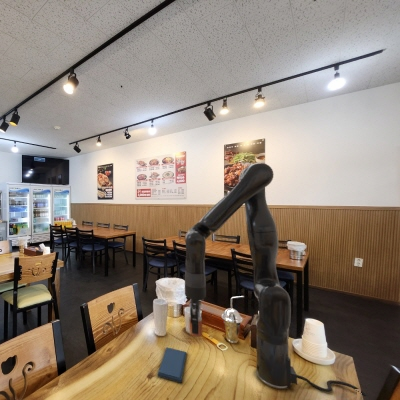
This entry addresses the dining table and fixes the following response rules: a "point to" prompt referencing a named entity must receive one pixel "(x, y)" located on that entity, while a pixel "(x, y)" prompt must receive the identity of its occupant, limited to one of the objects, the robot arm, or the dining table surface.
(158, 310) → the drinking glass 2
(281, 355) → the robot arm
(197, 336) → the pill bottle
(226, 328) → the cup with straw
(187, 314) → the white cup
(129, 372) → the dining table surface
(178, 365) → the blue flat rectangular block
